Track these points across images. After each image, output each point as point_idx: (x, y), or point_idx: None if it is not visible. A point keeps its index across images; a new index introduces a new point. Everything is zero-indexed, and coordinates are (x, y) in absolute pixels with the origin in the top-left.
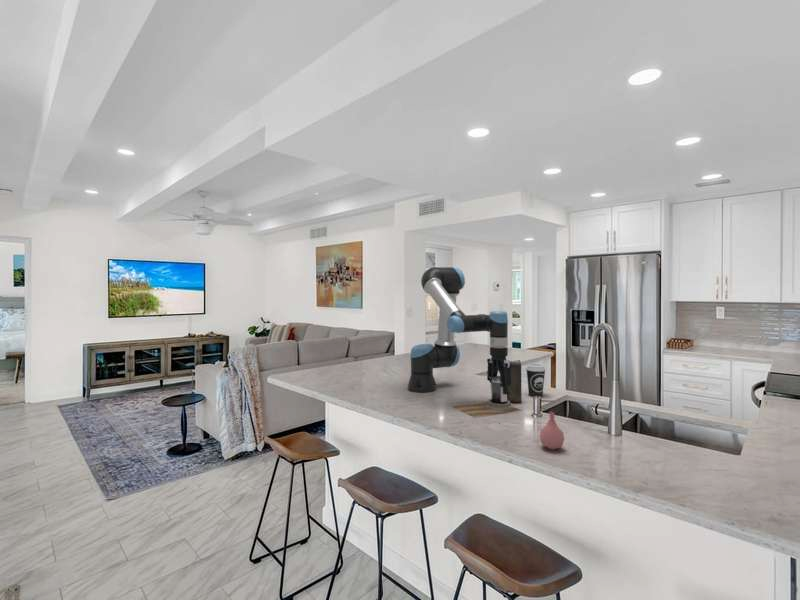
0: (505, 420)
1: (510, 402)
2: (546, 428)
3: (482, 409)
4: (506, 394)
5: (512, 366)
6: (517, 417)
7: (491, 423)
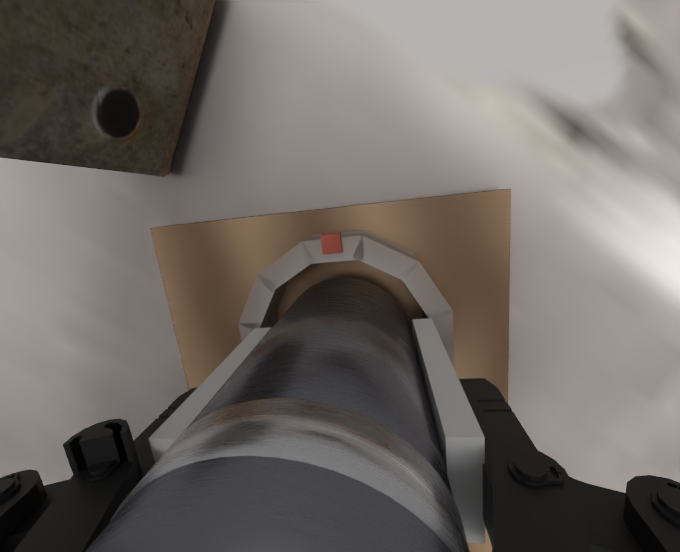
0: (570, 400)
1: (419, 262)
2: None
3: None
4: (446, 359)
5: None
6: (559, 284)
7: None
